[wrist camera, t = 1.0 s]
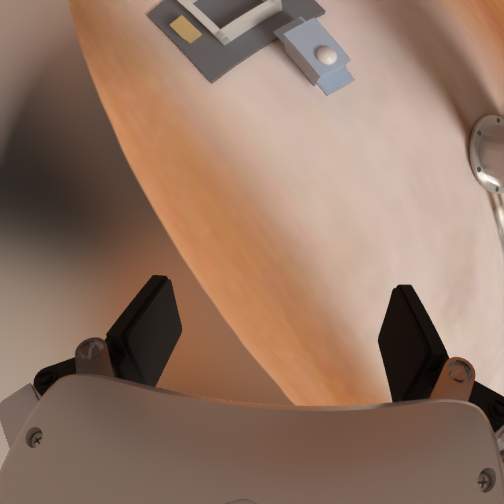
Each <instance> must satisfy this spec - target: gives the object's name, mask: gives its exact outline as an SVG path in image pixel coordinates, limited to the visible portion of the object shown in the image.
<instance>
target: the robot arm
mask: <svg viewBox="0 0 504 504" xmlns="http://www.w3.org/2000/svg"><path fill="white" fill-rule="evenodd" d="M469 151H470V161H471V166H472V170H473V173H474V175H475V177H476V179H477V181H478V182H479V184H480V185H481V186H482V187H483V188H484V189H486V190H487V191H489V192H491V193H494V194H501V193H504V118H502V117H500V116H497V115H485V116H483V117H482V118H480V119H479V120H478V121H477V123H476V124H475V126H474V128H473V131H472V134H471V138H470V148H469ZM181 332H182V325H181V321H180V317H179V313H178V309H177V305H176V300H175V296H174V291H173V287H172V283H171V280H170V279H168V278H167V276H162V275H153V276H152V277H151V278H150V279H149V281H148V282H147V283H146V284H145V286H144V287H143V288H142V289H141V290H140V292H139V293H138V294H137V295H136V297H135V298H134V299H133V300H132V302H131V303H130V304H129V305H128V307H127V308H126V309H125V310H124V312H123V313H122V314H121V316H120V317H119V318H118V319H117V321H116V322H115V323H114V325H113V326H112V327H111V329H110V330H109V331H108V333H107V334H106V335H107V338H106V339H105V340H103V339H101V338H97V337H93V338H89V339H87V340H84V341H83V342H82V343H80V344H79V346H78V347H77V349H76V351H75V357H74V358H72V359H69V360H66V361H63V362H60V363H58V364H55V365H52V366H49V367H46V368H44V369H42V370H40V371H39V372H38V373H37V375H36V376H35V378H34V384H33V385H32V384H31V383H29V384H27V385H26V386H24V387H23V388H21V389H20V390H18V391H17V392H15V393H13V394H12V395H11V396H9V397H8V398H6V399H5V400H3V401H2V402H1V404H0V421H1V424H2V427H3V430H4V433H5V436H6V439H7V441H8V444H9V447H10V450H9V452H8V454H7V456H6V459H5V461H4V463H3V465H2V468H1V470H0V504H504V397H503V396H502V395H500V394H498V393H496V392H494V391H493V390H491V389H489V388H487V387H485V386H484V385H482V384H480V383H478V382H477V381H475V370H474V368H473V366H472V365H471V364H470V362H469V361H467V360H465V359H463V358H460V357H453V358H450V359H449V356H448V354H447V351H446V349H445V347H444V345H443V343H442V341H441V339H440V337H439V335H438V333H437V331H436V329H435V327H434V325H433V323H432V321H431V319H430V317H429V315H428V313H427V312H426V310H425V308H424V306H423V304H422V303H421V301H420V299H419V297H418V296H417V294H416V292H415V290H414V289H413V287H412V286H411V285H398V286H397V287H396V288H394V289H393V291H392V294H391V298H390V301H389V305H388V308H387V311H386V315H385V318H384V321H383V324H382V327H381V330H380V333H379V337H378V344H379V348H380V352H381V355H382V359H383V363H384V367H385V371H386V375H387V379H388V383H389V388H390V392H391V397H392V401H393V402H392V403H381V404H367V405H350V406H290V405H288V406H287V405H271V404H259V403H248V402H238V401H230V400H223V399H216V398H209V397H202V396H196V395H191V394H185V393H181V392H175V391H171V390H166V389H162V388H157V387H155V386H156V384H157V382H158V380H159V378H160V376H161V374H162V372H163V370H164V368H165V366H166V364H167V362H168V360H169V357H170V355H171V353H172V351H173V349H174V347H175V345H176V343H177V341H178V339H179V337H180V335H181Z"/></svg>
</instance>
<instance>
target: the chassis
mask: <svg viewBox="0 0 504 504" xmlns="http://www.w3.org/2000/svg"><path fill="white" fill-rule="evenodd" d="M324 14H325V10H324V9H323V8H322V7H321V6H320V5H319V4H318V3H317V2H316V1H315V0H165V1H164V2H162V3H161V4H160V5H159V6H157V7H156V8H155V9H154V10H153V11H151V12H150V13H149V14H148V15H147V16H148V17H149V18H150V19H151V20H152V21H153V22H154V23H155V24H156V25H157V26H158V27H159V28H160V29H161V30H162V31H163V32H164V33H165V34H166V35H167V36H168V37H169V38H170V39H171V40H172V41H173V42H174V43H175V44H176V45H177V46H178V47H179V48H180V49H181V51H182V52H183V53H184V54H185V55H186V56H187V57H188V58H189V59H190V60H191V61H192V63H193V64H194V65H195V66H196V67H197V68H198V69H199V70H200V72H201V73H202V74H203V75H204V76H205V77H206V78H207V80H208V81H209V82H210V83H213V82H215V81H216V80H217V79H219V78H220V77H221V76H223V75H224V74H225V73H227V72H228V71H229V70H231V69H232V68H234V67H235V66H236V65H238V64H239V63H241V62H242V61H244V60H245V59H247V58H248V57H250V56H251V55H253V54H254V53H256V52H257V51H259V50H260V49H262V48H263V47H265V46H267V45H268V44H270V43H271V42H273V41H275V40H276V39H278V37H277V36H276V35H275V34H274V31H275V30H277V29H279V28H280V27H282V26H284V25H286V24H288V23H289V22H291V21H293V20H295V19H297V18H299V17H302V18H303V19H304V20H305V21H308V20H310V19H312V18H317V17H319V16H321V15H324Z"/></svg>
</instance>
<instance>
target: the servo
mask: <svg viewBox="0 0 504 504" xmlns="http://www.w3.org/2000/svg"><path fill="white" fill-rule="evenodd" d="M274 34H275V35H276V36H277V37H278V38H279V39H280V40H281V42H282V43H283V44H284V47H285V52H286V53H287V54H288V55H289V56H290V58H291V59H292V60H293V61H294V62H295V63H296V65H297V66H298V67H299V68H300V69H301V71H302V72H303V73H304V74H305V76H306V77H307V78H308V79H309V81H310V82H311V83H312V85H313V86H316V85H317V84H318V86H319V87H320V88H321V90H322V91H323V92H324V94H325V95H326V96H328V95H330V94H332V93H333V92H335V91H337V90H338V89H340V88H342V87H344V86H346V85H347V84H349V83H351V82H353V81H354V78H353V77H352V75H351V74H350V73H349V71H348V70H347V69H346V67H345V65H346V64H347V63H348V62H349V61H350V60H351V59H350V58H349V57H348V55H347V54H346V53H345V52H344V50H343V49H342V48H341V47H340V45H339V44H338V43H337V42H336V41H335V40H334V38H333V37H332V36H331V35H330V34H329V33H328V32H327V30H326V29H325V28H324V27H323V26H322V25H321V24H320V23H319V22H318V21H317V20H316V19H315V18H312V19H310V20H308V21H305V20H304V19H303V18H302V17H299V18H297V19H295V20H293V21H291V22H289V23H288V24H286V25H284V26H282V27H280V28H279V29H277V30H275V31H274Z"/></svg>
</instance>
